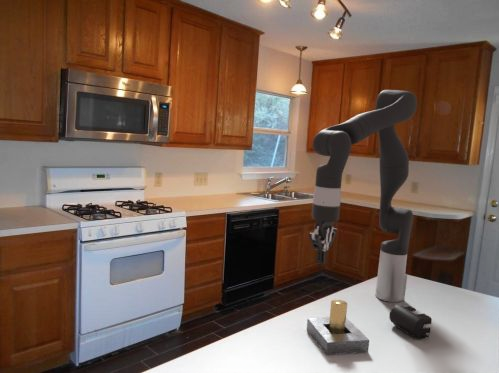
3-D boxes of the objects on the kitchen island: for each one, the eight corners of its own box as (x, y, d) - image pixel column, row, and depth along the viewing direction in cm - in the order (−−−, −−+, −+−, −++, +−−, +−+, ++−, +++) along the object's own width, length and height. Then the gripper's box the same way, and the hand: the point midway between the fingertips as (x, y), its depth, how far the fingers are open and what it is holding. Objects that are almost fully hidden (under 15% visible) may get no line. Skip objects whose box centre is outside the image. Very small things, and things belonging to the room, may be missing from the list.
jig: (344, 327, 122) (345, 316, 121) (368, 352, 108) (369, 339, 108) (306, 329, 119) (307, 318, 119) (326, 355, 105) (327, 342, 105)
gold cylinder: (339, 335, 116) (342, 299, 115) (346, 343, 112) (350, 305, 111) (324, 336, 115) (328, 299, 114) (331, 344, 111) (335, 306, 110)
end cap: (387, 326, 125) (390, 305, 124) (405, 323, 128) (407, 302, 127) (412, 342, 116) (415, 319, 115) (430, 338, 119) (433, 316, 118)
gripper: (327, 207, 106) (321, 271, 108) (349, 202, 116) (343, 261, 118) (302, 202, 110) (297, 264, 112) (325, 198, 120) (320, 255, 123)
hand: (320, 262), depth 115 cm, fingers closed
